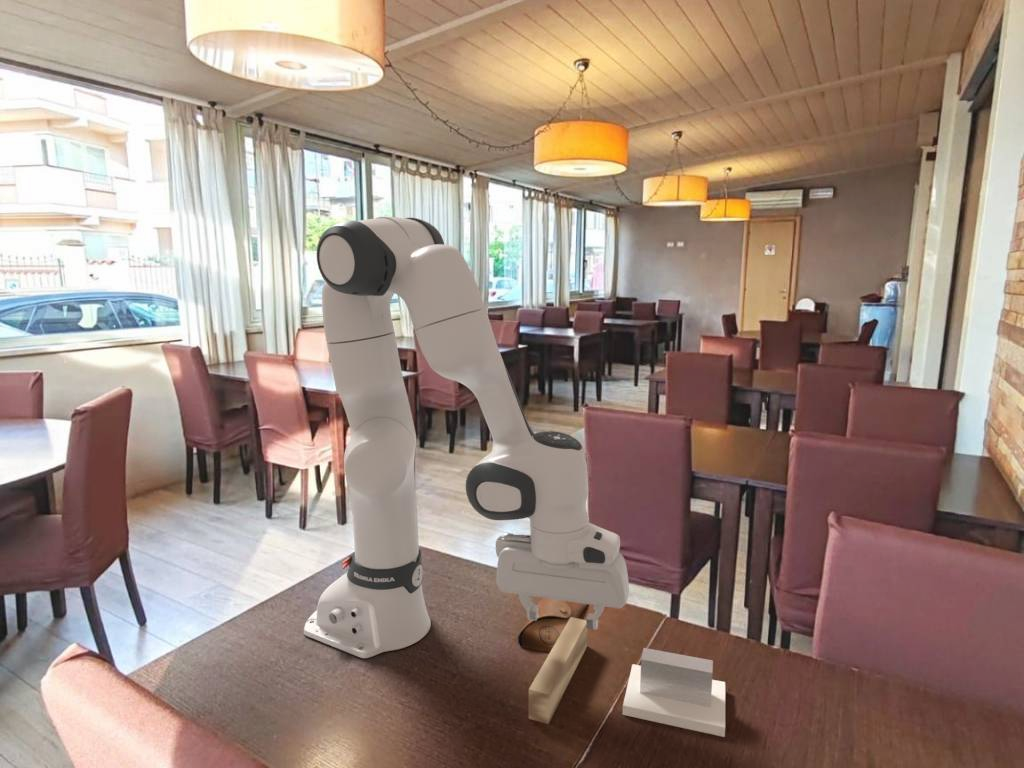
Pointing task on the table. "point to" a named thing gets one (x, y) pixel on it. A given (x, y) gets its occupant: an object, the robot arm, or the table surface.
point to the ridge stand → (676, 692)
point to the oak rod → (557, 671)
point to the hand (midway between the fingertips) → (562, 622)
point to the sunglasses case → (548, 623)
